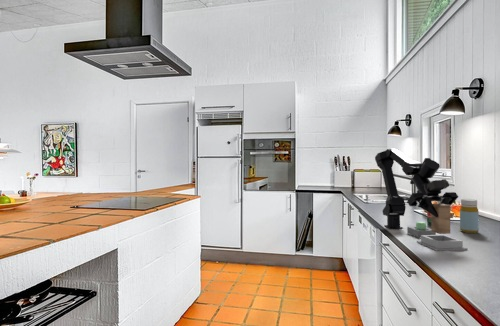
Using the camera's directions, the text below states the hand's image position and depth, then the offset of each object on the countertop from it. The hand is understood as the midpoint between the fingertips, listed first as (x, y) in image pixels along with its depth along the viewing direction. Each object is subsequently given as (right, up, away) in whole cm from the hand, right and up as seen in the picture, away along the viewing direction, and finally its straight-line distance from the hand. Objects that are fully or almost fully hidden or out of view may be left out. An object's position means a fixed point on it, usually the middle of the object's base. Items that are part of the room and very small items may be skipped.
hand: (443, 216), depth 117 cm
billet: (0, -7, +1) cm, 7 cm away
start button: (+2, -11, +18) cm, 22 cm away
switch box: (+2, -12, +18) cm, 22 cm away
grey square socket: (0, -12, +1) cm, 12 cm away
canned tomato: (+20, -12, +37) cm, 43 cm away
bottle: (+28, -12, +24) cm, 39 cm away
